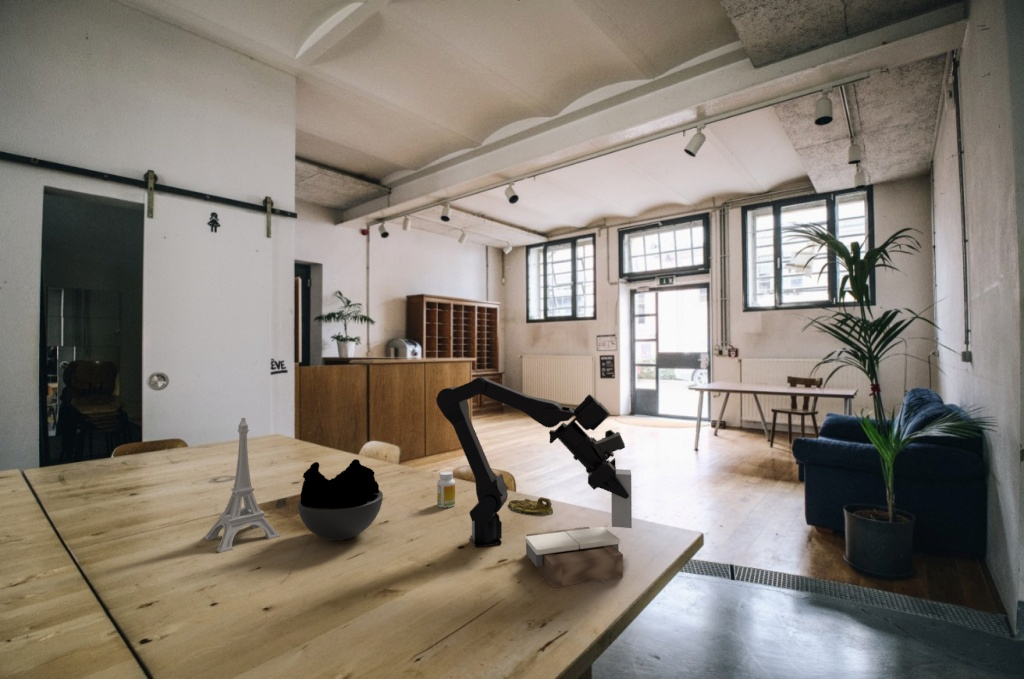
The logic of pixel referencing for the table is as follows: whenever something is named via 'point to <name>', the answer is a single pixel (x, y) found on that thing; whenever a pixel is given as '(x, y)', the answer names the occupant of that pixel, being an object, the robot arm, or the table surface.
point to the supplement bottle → (446, 490)
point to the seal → (532, 506)
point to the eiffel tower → (240, 502)
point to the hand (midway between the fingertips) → (627, 494)
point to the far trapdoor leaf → (594, 538)
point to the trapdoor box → (580, 564)
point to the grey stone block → (622, 502)
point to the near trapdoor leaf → (548, 545)
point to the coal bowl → (339, 501)
